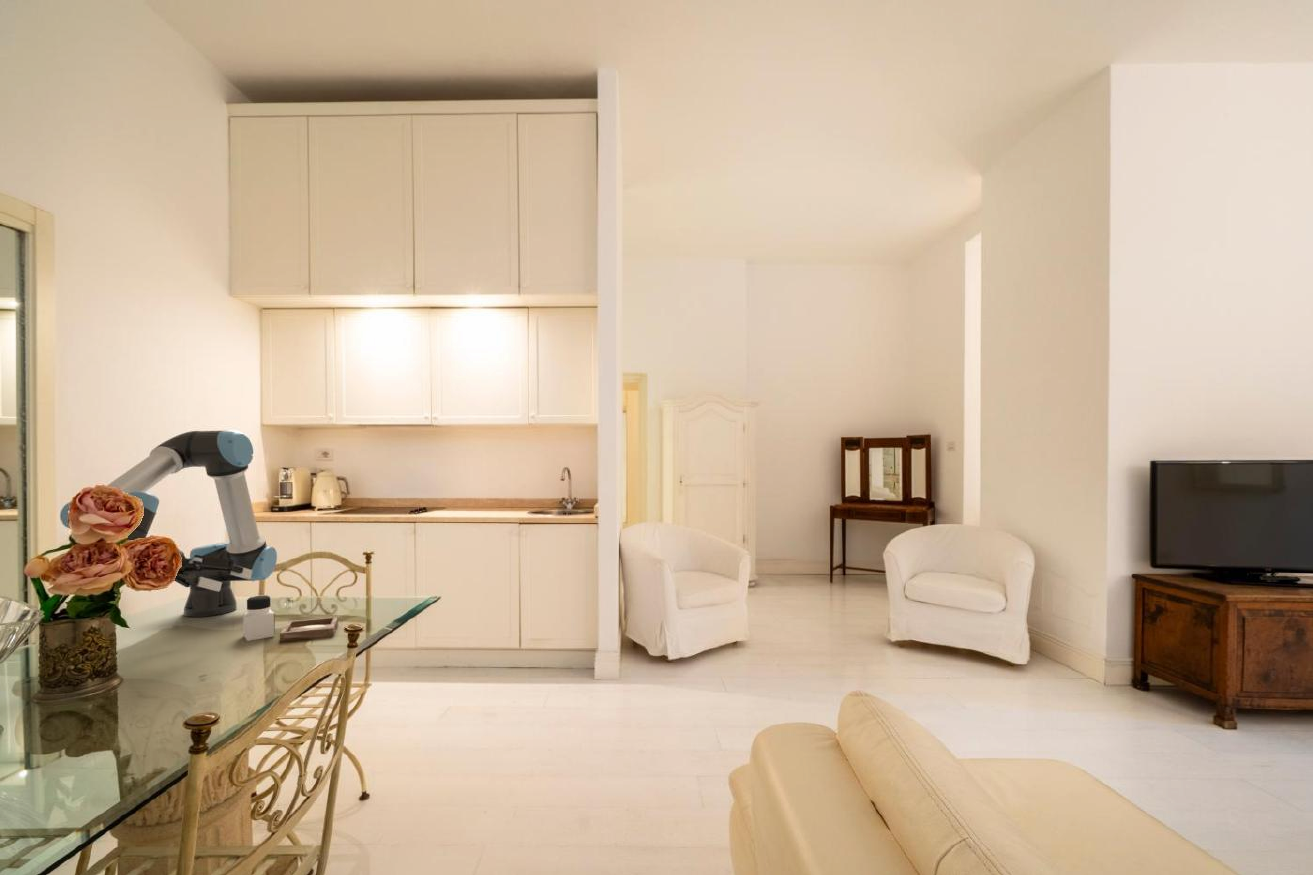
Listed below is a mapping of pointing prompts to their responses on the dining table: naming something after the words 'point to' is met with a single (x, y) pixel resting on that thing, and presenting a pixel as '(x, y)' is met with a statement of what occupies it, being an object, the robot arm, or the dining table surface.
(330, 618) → the wooden tray
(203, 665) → the dining table surface
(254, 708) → the dining table surface
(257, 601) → the medicine bottle
